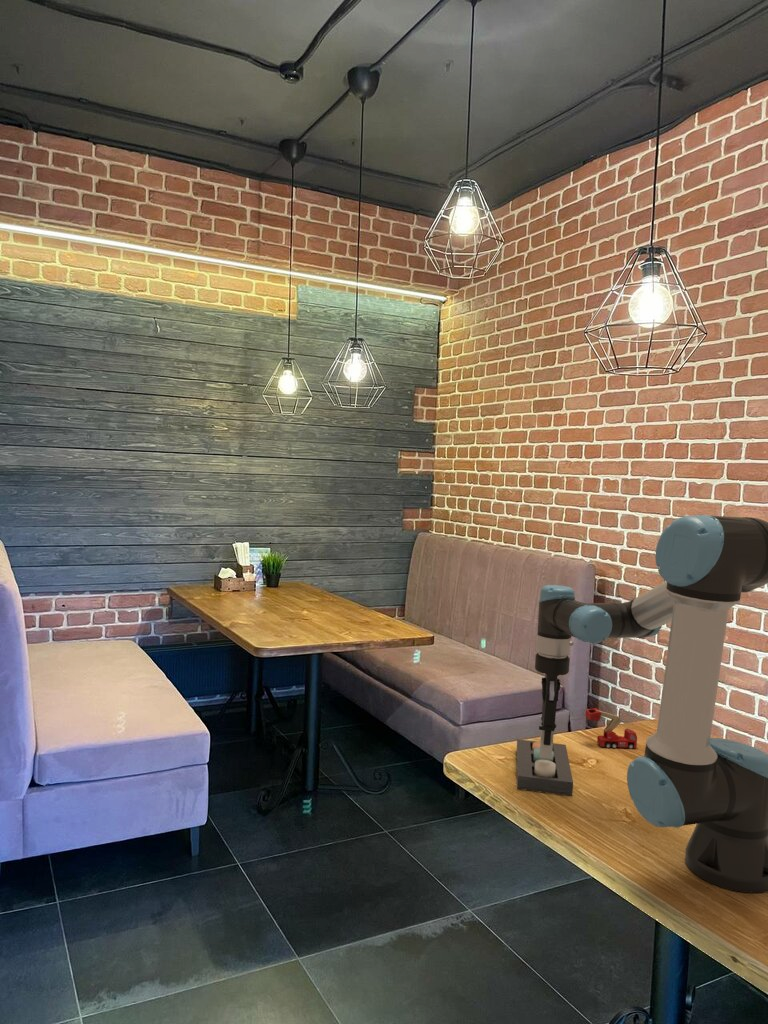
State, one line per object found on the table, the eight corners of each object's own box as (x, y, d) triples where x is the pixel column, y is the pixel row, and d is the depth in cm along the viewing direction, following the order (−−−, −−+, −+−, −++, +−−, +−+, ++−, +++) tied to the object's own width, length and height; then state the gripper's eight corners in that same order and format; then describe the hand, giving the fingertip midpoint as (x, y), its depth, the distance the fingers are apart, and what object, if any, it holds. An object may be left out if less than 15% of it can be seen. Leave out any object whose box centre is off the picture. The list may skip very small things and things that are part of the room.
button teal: (553, 768, 177) (554, 755, 177) (533, 765, 177) (534, 753, 177) (552, 761, 181) (553, 748, 181) (532, 758, 182) (533, 746, 182)
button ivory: (555, 781, 169) (556, 768, 169) (534, 779, 170) (535, 766, 169) (554, 773, 173) (555, 761, 173) (533, 771, 174) (534, 758, 174)
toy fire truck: (638, 749, 198) (641, 713, 198) (587, 748, 197) (589, 711, 197) (633, 745, 202) (635, 709, 201) (583, 743, 201) (585, 707, 200)
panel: (572, 795, 167) (573, 782, 167) (517, 789, 169) (518, 775, 168) (564, 756, 190) (565, 744, 190) (516, 750, 192) (517, 739, 192)
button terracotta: (551, 761, 185) (552, 749, 185) (532, 759, 185) (532, 747, 185) (550, 754, 189) (551, 742, 189) (531, 752, 190) (532, 740, 190)
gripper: (572, 663, 163) (564, 770, 164) (567, 649, 176) (560, 748, 177) (536, 659, 164) (529, 765, 166) (535, 646, 177) (528, 745, 178)
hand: (545, 756), depth 171 cm, fingers closed
